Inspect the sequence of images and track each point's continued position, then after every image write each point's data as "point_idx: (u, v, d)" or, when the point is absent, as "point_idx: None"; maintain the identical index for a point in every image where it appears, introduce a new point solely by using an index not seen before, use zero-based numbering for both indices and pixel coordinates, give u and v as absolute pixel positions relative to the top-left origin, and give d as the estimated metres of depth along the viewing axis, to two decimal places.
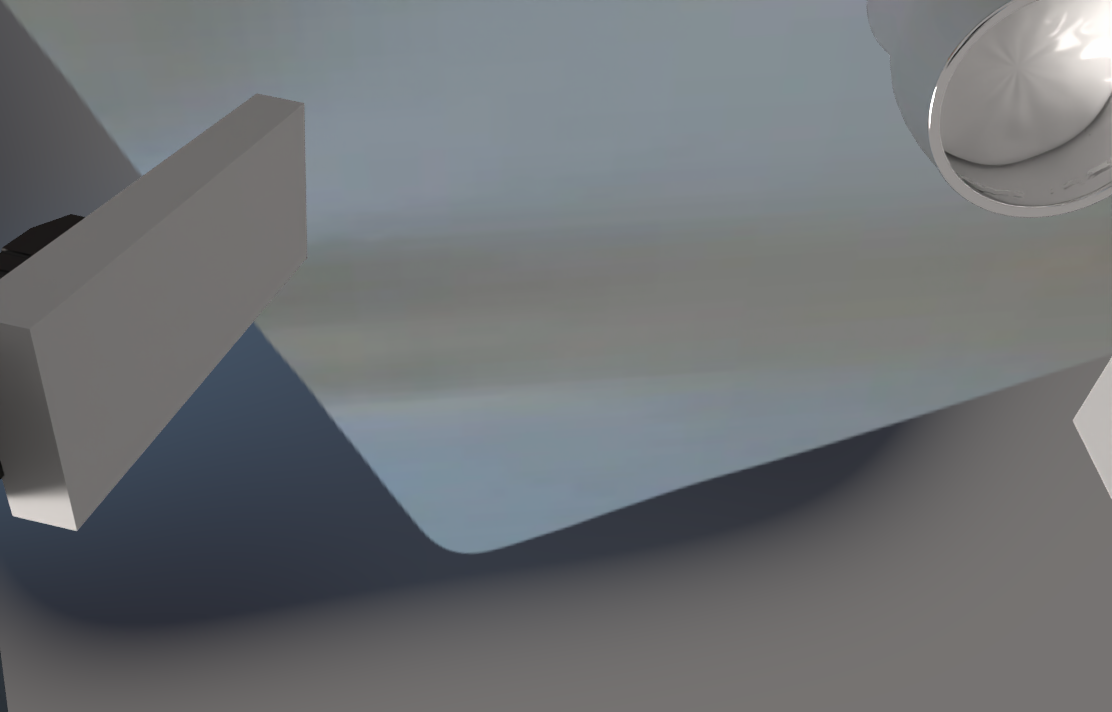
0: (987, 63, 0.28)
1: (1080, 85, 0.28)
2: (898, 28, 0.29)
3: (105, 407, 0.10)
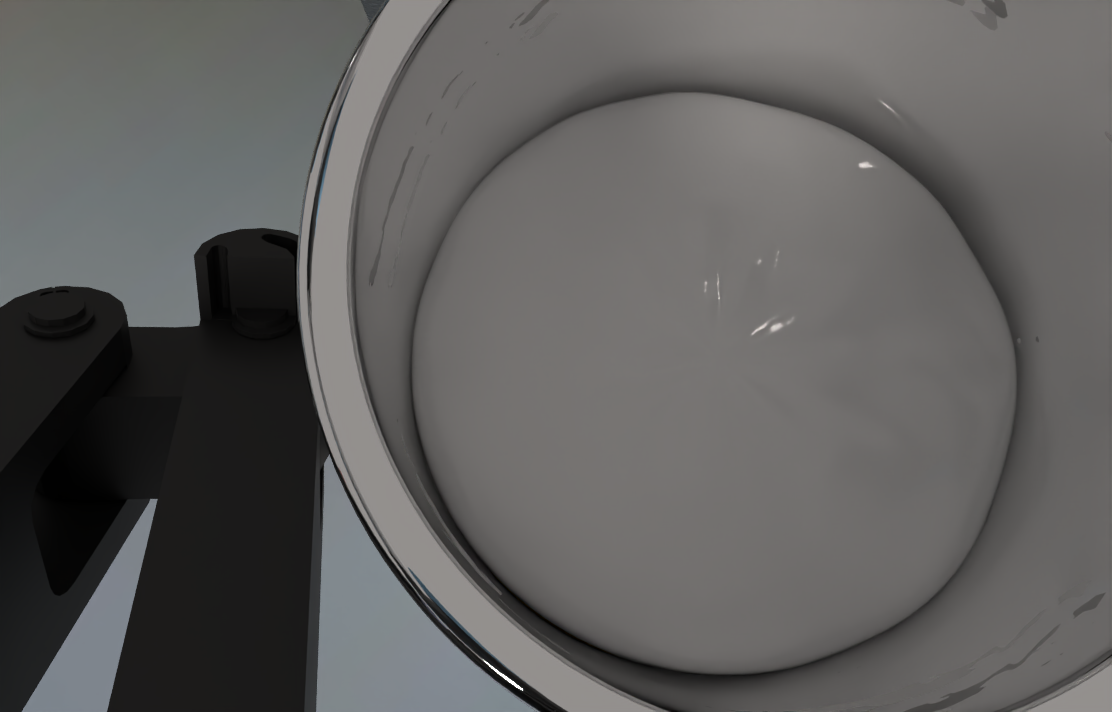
0: (649, 407, 0.09)
1: (885, 275, 0.10)
2: None
3: None
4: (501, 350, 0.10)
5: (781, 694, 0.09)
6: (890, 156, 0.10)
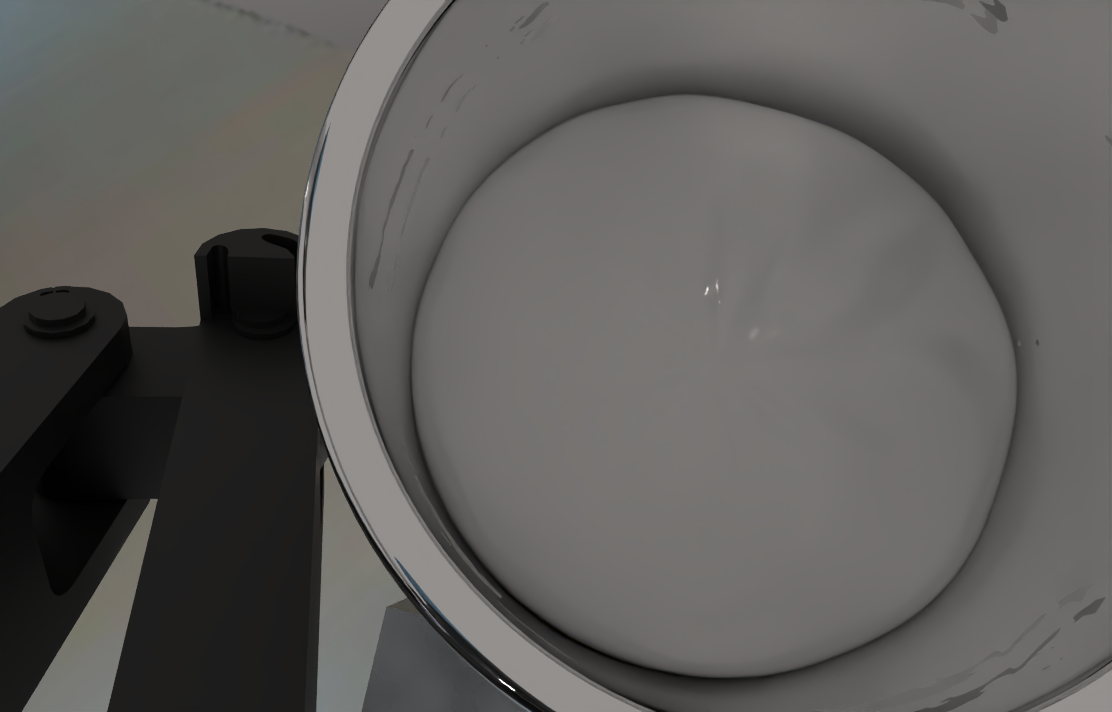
0: (649, 410, 0.09)
1: (885, 278, 0.10)
2: None
3: None
4: (501, 353, 0.10)
5: (781, 698, 0.09)
6: (890, 159, 0.10)
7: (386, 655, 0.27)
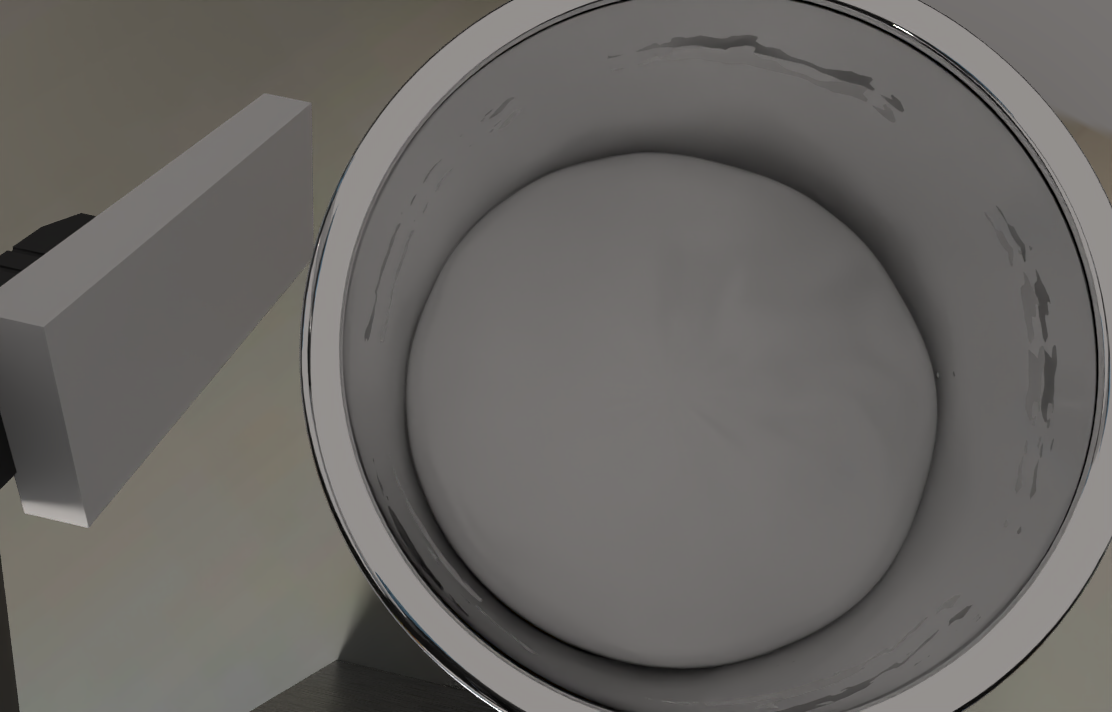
0: (611, 436, 0.11)
1: (820, 318, 0.11)
2: None
3: (116, 405, 0.10)
4: (482, 387, 0.11)
5: (721, 686, 0.10)
6: (830, 207, 0.12)
7: None
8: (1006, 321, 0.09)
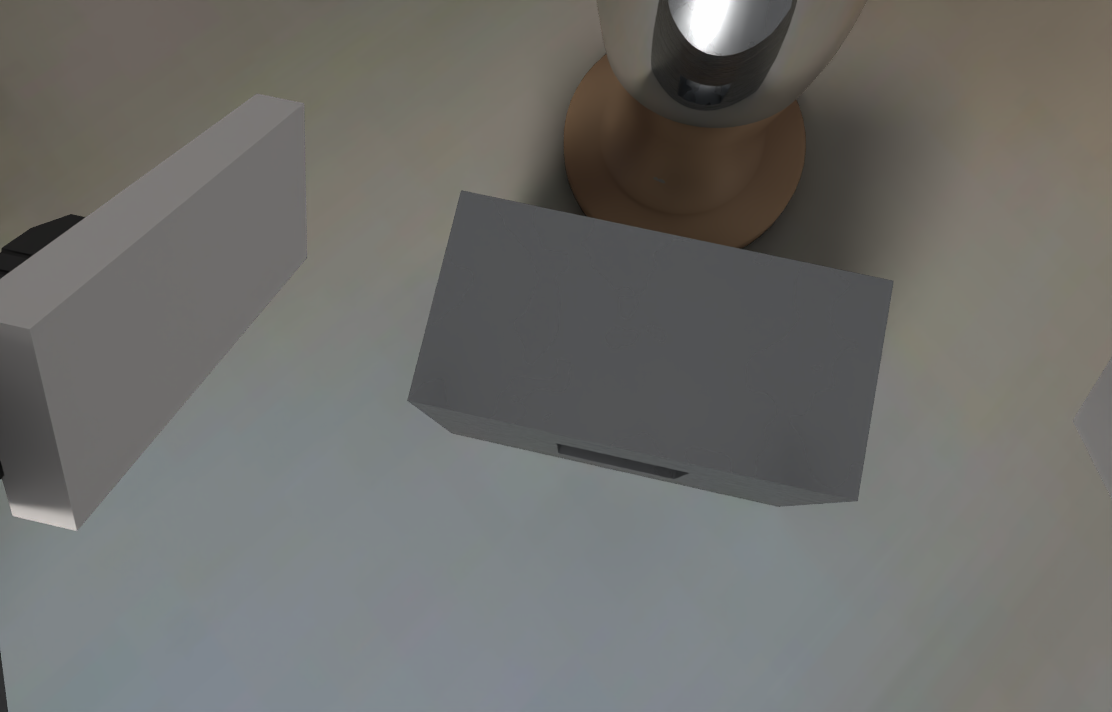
0: None
1: None
2: (614, 54, 0.24)
3: (105, 407, 0.10)
4: None
5: None
6: None
7: (461, 239, 0.25)
8: None
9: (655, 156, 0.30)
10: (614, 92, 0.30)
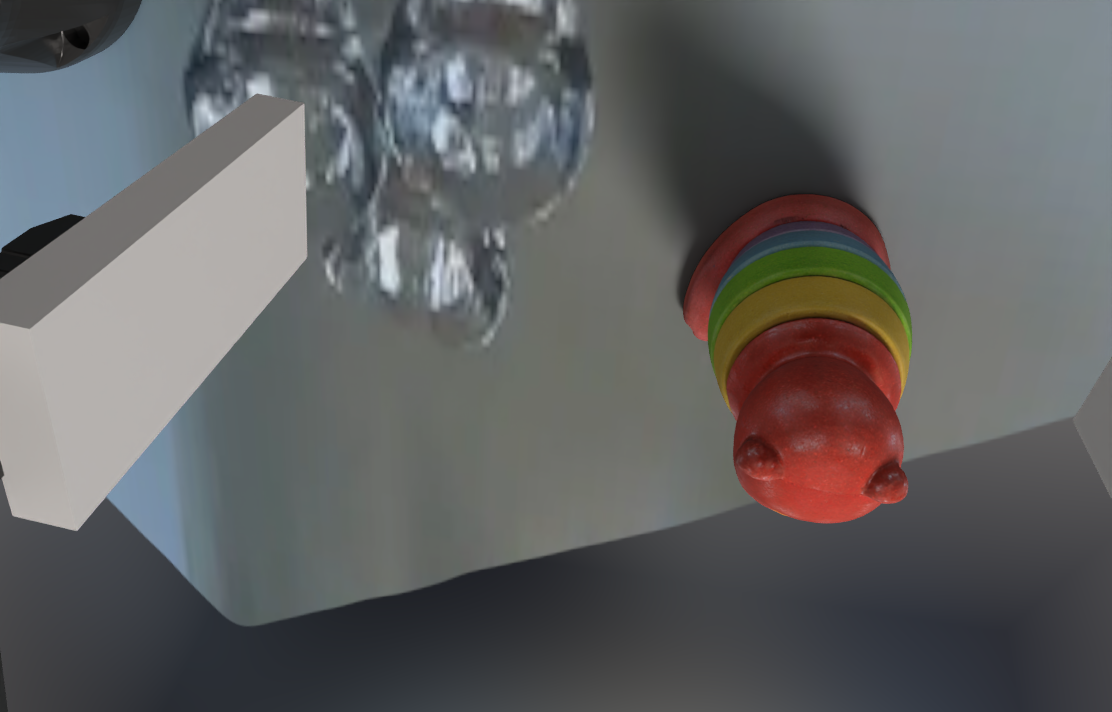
0: None
1: None
2: None
3: (105, 407, 0.10)
4: None
5: None
6: None
7: None
8: None
9: None
10: None
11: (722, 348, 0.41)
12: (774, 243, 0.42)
